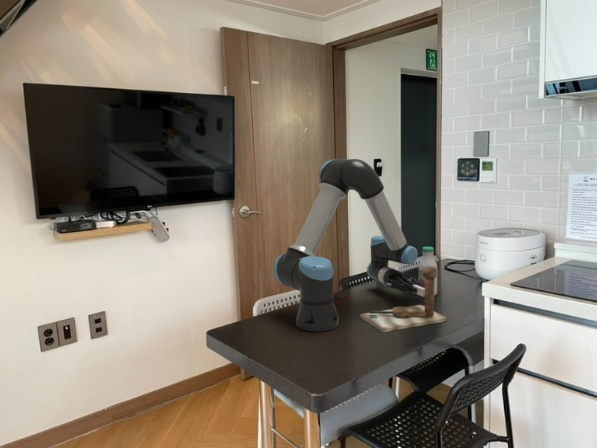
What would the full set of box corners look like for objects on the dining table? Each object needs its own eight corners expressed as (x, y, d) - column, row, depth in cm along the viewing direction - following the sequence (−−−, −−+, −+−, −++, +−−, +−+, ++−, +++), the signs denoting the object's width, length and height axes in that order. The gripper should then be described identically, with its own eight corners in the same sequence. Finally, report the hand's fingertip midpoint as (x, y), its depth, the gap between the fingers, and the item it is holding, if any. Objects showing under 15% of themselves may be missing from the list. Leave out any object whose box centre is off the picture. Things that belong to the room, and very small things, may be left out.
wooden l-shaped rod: (369, 316, 163) (369, 269, 161) (369, 311, 169) (368, 266, 166) (437, 317, 161) (438, 269, 158) (434, 312, 166) (435, 266, 164)
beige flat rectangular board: (382, 332, 154) (382, 327, 153) (360, 317, 169) (360, 313, 168) (447, 321, 162) (447, 316, 162) (420, 307, 177) (420, 303, 177)
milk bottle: (435, 291, 198) (435, 245, 195) (438, 296, 190) (439, 249, 187) (416, 291, 199) (417, 245, 196) (419, 296, 191) (420, 249, 188)
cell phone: (312, 304, 186) (312, 302, 186) (335, 296, 196) (335, 293, 196) (326, 308, 181) (326, 306, 180) (349, 299, 191) (349, 297, 191)
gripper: (404, 284, 192) (439, 300, 170) (377, 288, 188) (408, 305, 165) (404, 267, 191) (439, 280, 168) (376, 270, 187) (408, 284, 164)
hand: (424, 292), depth 167 cm, fingers closed
